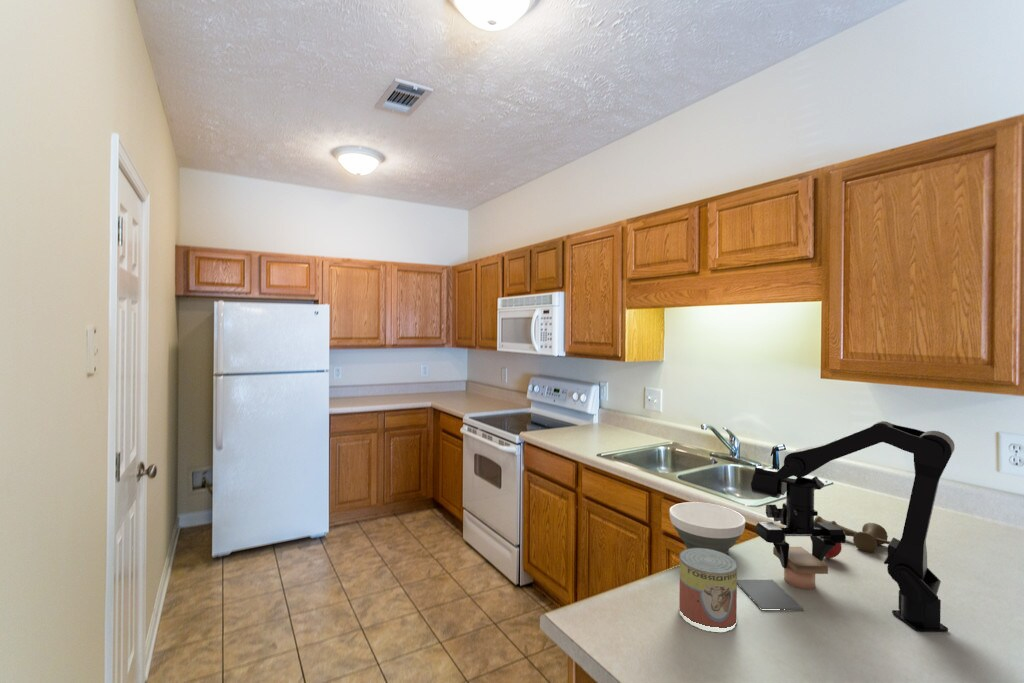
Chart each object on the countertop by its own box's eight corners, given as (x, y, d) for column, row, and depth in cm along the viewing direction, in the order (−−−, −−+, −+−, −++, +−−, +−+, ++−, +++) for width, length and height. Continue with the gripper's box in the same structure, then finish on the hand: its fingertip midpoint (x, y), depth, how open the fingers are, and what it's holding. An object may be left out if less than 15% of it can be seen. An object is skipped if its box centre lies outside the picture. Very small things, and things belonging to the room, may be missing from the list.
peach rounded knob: (821, 589, 111) (821, 574, 111) (794, 588, 111) (794, 574, 111) (804, 575, 117) (804, 561, 117) (778, 575, 117) (778, 561, 117)
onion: (845, 564, 122) (846, 534, 122) (820, 562, 124) (821, 532, 123) (835, 554, 128) (835, 525, 128) (811, 552, 129) (811, 523, 129)
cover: (827, 573, 109) (827, 566, 109) (797, 573, 109) (797, 566, 109) (801, 553, 119) (801, 546, 119) (773, 553, 119) (773, 546, 119)
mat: (803, 610, 102) (803, 608, 102) (761, 610, 102) (761, 608, 102) (772, 581, 114) (772, 579, 114) (735, 581, 114) (735, 579, 114)
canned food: (691, 633, 94) (691, 573, 94) (671, 601, 105) (671, 547, 105) (747, 632, 94) (748, 572, 94) (721, 601, 105) (721, 547, 105)
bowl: (707, 529, 144) (707, 498, 144) (762, 557, 126) (762, 522, 126) (654, 539, 137) (654, 506, 137) (704, 570, 119) (704, 533, 119)
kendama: (821, 529, 147) (903, 550, 131) (809, 538, 141) (893, 561, 125) (821, 510, 147) (903, 529, 131) (808, 518, 141) (892, 539, 125)
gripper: (817, 492, 122) (816, 552, 122) (744, 491, 122) (744, 552, 122) (847, 507, 111) (847, 574, 111) (768, 507, 110) (767, 574, 111)
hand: (799, 567), depth 114 cm, fingers closed on cover, 7 cm apart
